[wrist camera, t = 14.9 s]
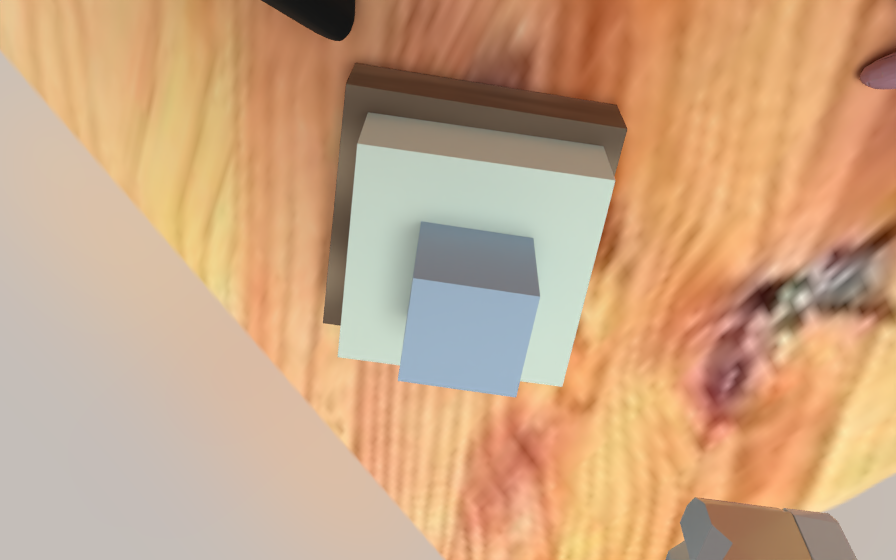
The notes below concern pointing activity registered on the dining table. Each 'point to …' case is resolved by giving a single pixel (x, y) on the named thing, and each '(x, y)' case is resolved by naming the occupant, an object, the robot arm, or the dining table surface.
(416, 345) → the blue cube
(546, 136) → the walnut slab
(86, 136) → the dining table surface
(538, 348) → the sage slab
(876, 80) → the video game controller
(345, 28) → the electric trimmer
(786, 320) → the dining table surface
